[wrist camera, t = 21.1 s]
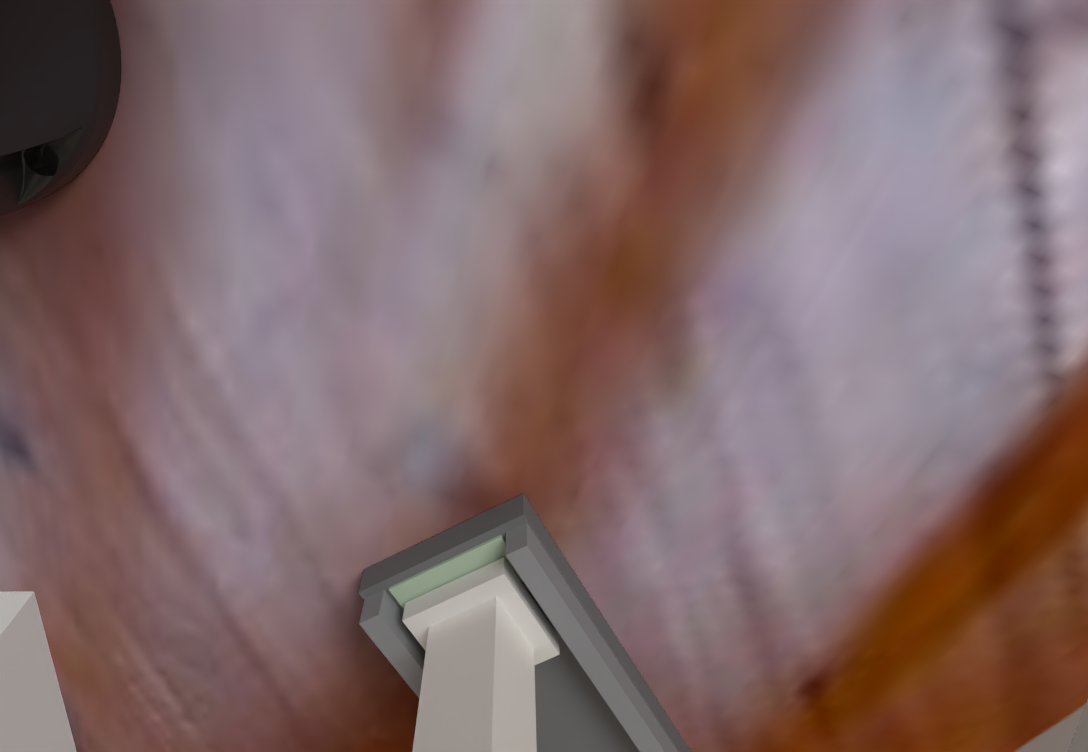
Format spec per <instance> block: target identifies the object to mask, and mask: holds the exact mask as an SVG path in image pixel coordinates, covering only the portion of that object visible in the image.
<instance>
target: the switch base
mask: <svg viewBox="0 0 1088 752" xmlns="http://www.w3.org/2000/svg"><path fill="white" fill-rule="evenodd" d="M503 557H505V559H506V560H507V562H508V563H509V565H510V566H511V568H512V569H513V571H514V572H515V573H516V575H517V576H518V578H519V579H520V581H521V582H522V584H523V585H524V587H525V588H526V590H527V591H528V592H529V594H530V595H531V597H532V598H533V600H534V601H535V603H536V604H537V606H538V607H539V608H540V610H541V611H542V613H543V614H544V616H545V617H546V619H547V620H548V622H549V623H550V625H551V626H552V627H553V629H554V630H555V632H556V633H557V635H558V636H559V651H560V655H557V656H555V657H553V658H550V659H548V660H546V661H544V662H541V663H539V664H537V665H534V666H535V704H536V741H537V752H691V751H690V750H689V748H688V746H687V745H686V743H685V742H684V740H683V739H682V737H681V736H680V734H679V733H678V731H677V729H676V728H675V726H674V725H673V723H672V722H671V720H670V719H669V717H668V716H667V714H666V713H665V711H664V709H663V708H662V706H661V705H660V703H659V702H658V700H657V699H656V697H655V696H654V694H653V693H652V691H651V689H650V688H649V686H648V685H647V683H646V682H645V680H644V679H643V677H642V676H641V674H640V673H639V671H638V669H637V668H636V666H635V665H634V663H633V662H632V660H631V659H630V657H629V656H628V654H627V652H626V651H625V649H624V648H623V646H622V645H621V643H620V642H619V640H618V639H617V637H616V636H615V634H614V632H613V631H612V629H611V628H610V626H609V625H608V623H607V622H606V620H605V619H604V617H603V616H602V614H601V612H600V611H599V609H598V608H597V606H596V605H595V603H594V602H593V600H592V599H591V597H590V596H589V594H588V592H587V591H586V589H585V588H584V586H583V585H582V583H581V582H580V580H579V579H578V577H577V575H576V574H575V572H574V571H573V569H572V568H571V566H570V565H569V563H568V562H567V560H566V559H565V557H564V555H563V554H562V552H561V551H560V549H559V548H558V546H557V545H556V543H555V542H554V540H553V539H552V537H551V535H550V534H549V532H548V531H547V529H546V528H545V526H544V525H543V523H542V522H541V520H540V519H539V517H538V515H537V514H536V512H535V511H534V509H533V508H532V506H531V505H530V503H529V502H528V500H527V498H526V497H525V495H524V494H521V495H519V496H517V497H515V498H513V499H511V500H508V501H506V502H504V503H502V504H500V505H498V506H496V507H494V508H492V509H490V510H487V511H485V512H483V513H481V514H479V515H477V516H475V517H473V518H471V519H469V520H467V521H464V522H462V523H460V524H458V525H456V526H454V527H452V528H450V529H448V530H446V531H444V532H441V533H439V534H437V535H435V536H433V537H431V538H429V539H427V540H425V541H423V542H421V543H418V544H416V545H414V546H412V547H410V548H408V549H406V550H404V551H402V552H400V553H398V554H395V555H393V556H391V557H389V558H387V559H385V560H383V561H381V562H379V563H377V564H374V565H372V566H370V567H368V568H366V569H364V572H363V576H362V580H361V584H360V588H359V592H358V593H359V594H360V596H361V597H362V598H363V599H364V605H363V609H362V613H361V617H360V621H359V625H360V626H361V627H362V628H363V629H364V631H365V632H366V633H367V634H368V636H369V637H370V638H371V639H372V641H373V642H374V643H375V644H376V646H377V647H378V648H379V649H380V651H381V652H382V653H383V654H384V656H385V657H386V658H387V659H388V661H389V662H390V663H391V664H392V666H393V667H394V668H395V669H396V670H397V672H398V673H399V674H400V675H401V677H402V678H403V679H404V680H405V682H406V683H407V684H408V685H409V687H410V688H411V689H412V690H413V692H414V693H415V694H416V695H417V697H418V698H420V690H421V683H422V675H423V668H424V660H425V653H426V651H425V650H424V648H423V647H422V646H421V644H420V643H419V642H418V641H417V639H416V638H415V637H414V635H413V634H412V633H411V632H410V630H409V629H408V628H407V626H406V625H405V624H404V623H403V621H402V619H403V613H404V607H405V603H407V602H409V601H411V600H413V599H415V598H417V597H419V596H422V595H424V594H426V593H428V592H430V591H432V590H434V589H437V588H439V587H441V586H443V585H445V584H447V583H450V582H452V581H454V580H456V579H458V578H460V577H462V576H465V575H467V574H469V573H471V572H473V571H475V570H477V569H480V568H482V567H484V566H486V565H488V564H490V563H492V562H495V561H497V560H499V559H501V558H503Z"/></svg>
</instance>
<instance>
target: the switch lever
mask: <svg viewBox="0 0 1088 752" xmlns="http://www.w3.org/2000/svg"><path fill="white" fill-rule="evenodd" d="M402 621H403V623H404V624H405V625H406V626H407V628H408V629H409V630H410V632H411V633H412V634H413V635H414V637H415V638H416V639H417V641H418V642H419V643H420V644H421V646H422V647H423V648H424V650H425V651H426V653H425V660H424V668H423V675H422V683H421V690H420V698H419V706H418V713H417V721H416V728H415V736H414V743H413V751H412V752H537V741H536V704H535V666H534V665H537V664H539V663H541V662H544V661H546V660H548V659H550V658H553V657H555V656H557V655H560V651H559V636H558V635H557V633H556V632H555V630H554V629H553V627H552V626H551V625H550V623H549V622H548V620H547V619H546V617H545V616H544V614H543V613H542V611H541V610H540V608H539V607H538V606H537V604H536V603H535V601H534V600H533V598H532V597H531V595H530V594H529V592H528V591H527V590H526V588H525V587H524V585H523V584H522V582H521V581H520V579H519V578H518V576H517V575H516V573H515V572H514V571H513V569H512V568H511V566H510V565H509V563H508V562H507V560H506V559H505V557H503V558H501V559H499V560H497V561H495V562H492V563H490V564H488V565H486V566H484V567H482V568H480V569H477V570H475V571H473V572H471V573H469V574H467V575H465V576H462V577H460V578H458V579H456V580H454V581H452V582H450V583H447V584H445V585H443V586H441V587H439V588H437V589H434V590H432V591H430V592H428V593H426V594H424V595H422V596H419V597H417V598H415V599H413V600H411V601H409V602H407V603H405V607H404V613H403V619H402Z"/></svg>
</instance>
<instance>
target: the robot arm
mask: <svg viewBox="0 0 1088 752" xmlns="http://www.w3.org/2000/svg"><path fill="white" fill-rule="evenodd" d="M120 82H121V52H120V43H119V35H118V30H117V25H116V20H115V17H114V13H113V9H112V6H111V3H110V0H0V216H1V215H5V214H7V213H10V212H13V211H16V210H18V209H21V208H23V207H25V206H27V205H30V204H32V203H34V202H36V201H38V200H40V199H42V198H44V197H46V196H48V195H50V194H52V193H54V192H56V191H57V190H59V189H60V188H62V187H63V186H65V185H66V184H68V183H69V182H70V181H71V180H73V179H74V178H75V177H76V176H77V175H78V174H79V173H80V172H81V171H82V170H83V169H84V168H85V167H86V166H87V165H88V164H89V162H90V161H91V160H92V159H93V157H94V156H95V155H96V153H97V152H98V150H99V149H100V147H101V145H102V143H103V142H104V140H105V138H106V136H107V133H108V131H109V129H110V126H111V124H112V121H113V118H114V115H115V111H116V107H117V103H118V97H119V92H120ZM0 752H76V748H75V744H74V740H73V737H72V733H71V729H70V725H69V721H68V718H67V714H66V710H65V706H64V703H63V699H62V695H61V691H60V688H59V684H58V680H57V676H56V673H55V669H54V665H53V661H52V658H51V654H50V650H49V646H48V643H47V639H46V635H45V631H44V628H43V624H42V620H41V616H40V613H39V609H38V605H37V601H36V597H35V594H34V592H0ZM1068 752H1088V700H1087V703H1086V705H1085V708H1084V711H1083V713H1082V716H1081V719H1080V721H1079V724H1078V726H1077V729H1076V732H1075V734H1074V737H1073V740H1072V742H1071V745H1070V748H1069V750H1068Z"/></svg>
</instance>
